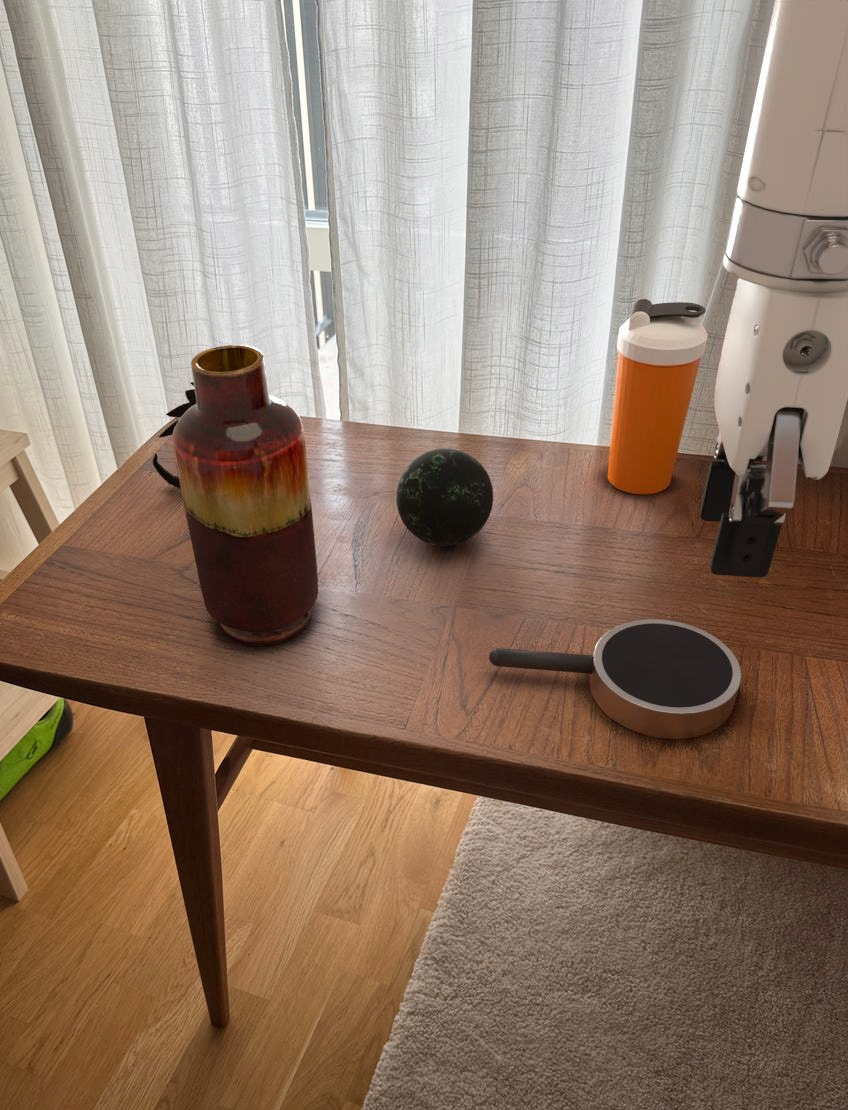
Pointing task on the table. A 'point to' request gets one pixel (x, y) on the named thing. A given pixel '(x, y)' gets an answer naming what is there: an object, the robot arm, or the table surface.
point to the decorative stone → (444, 497)
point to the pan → (650, 676)
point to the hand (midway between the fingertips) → (731, 543)
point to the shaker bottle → (653, 392)
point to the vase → (247, 499)
